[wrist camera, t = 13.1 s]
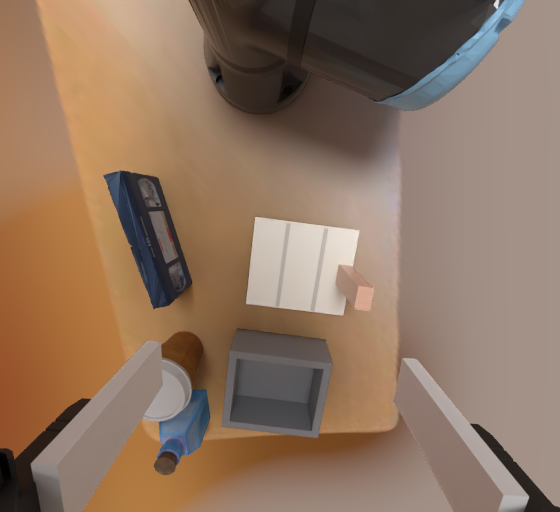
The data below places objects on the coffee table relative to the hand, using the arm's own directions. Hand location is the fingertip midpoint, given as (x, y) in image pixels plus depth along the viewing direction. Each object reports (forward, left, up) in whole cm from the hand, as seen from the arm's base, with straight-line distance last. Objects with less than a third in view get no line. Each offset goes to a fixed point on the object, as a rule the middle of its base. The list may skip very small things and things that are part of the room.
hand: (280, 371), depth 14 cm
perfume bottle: (+31, -13, -31) cm, 46 cm away
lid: (+1, +3, -30) cm, 30 cm away
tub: (+21, +2, -30) cm, 37 cm away
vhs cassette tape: (-1, -19, -31) cm, 36 cm away
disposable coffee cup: (+19, -15, -31) cm, 39 cm away
